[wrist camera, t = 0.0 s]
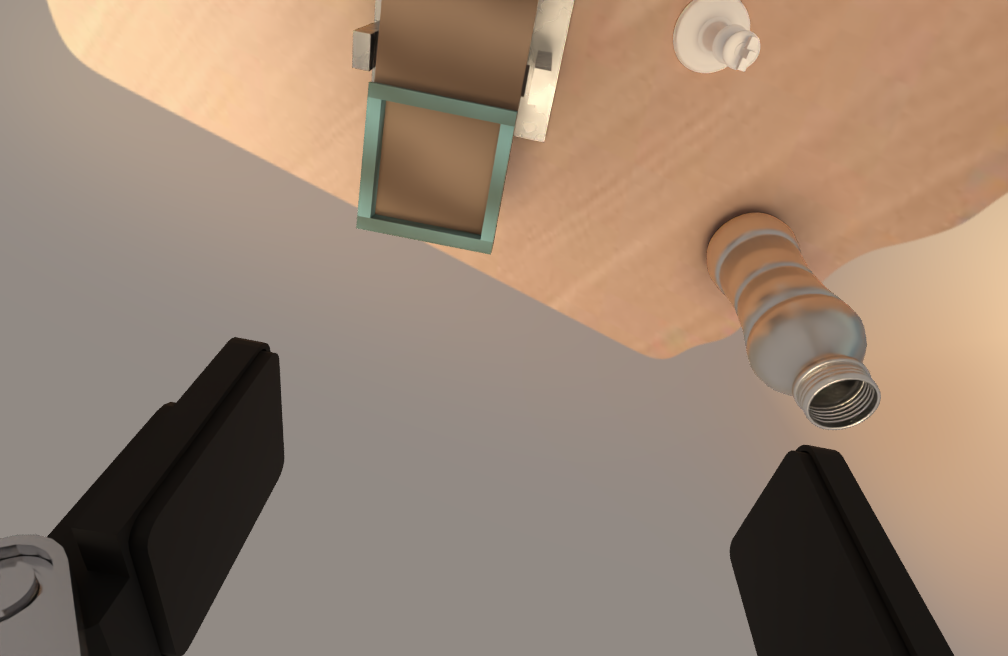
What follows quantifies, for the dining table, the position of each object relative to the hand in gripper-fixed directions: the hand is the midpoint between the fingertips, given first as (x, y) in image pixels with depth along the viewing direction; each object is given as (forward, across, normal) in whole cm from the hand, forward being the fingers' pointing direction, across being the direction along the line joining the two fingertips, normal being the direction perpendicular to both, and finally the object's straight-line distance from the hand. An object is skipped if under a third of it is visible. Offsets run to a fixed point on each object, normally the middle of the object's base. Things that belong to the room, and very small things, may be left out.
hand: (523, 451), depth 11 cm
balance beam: (+30, +6, -1) cm, 30 cm away
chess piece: (+37, -10, -5) cm, 39 cm away
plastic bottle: (+37, -18, +9) cm, 42 cm away
